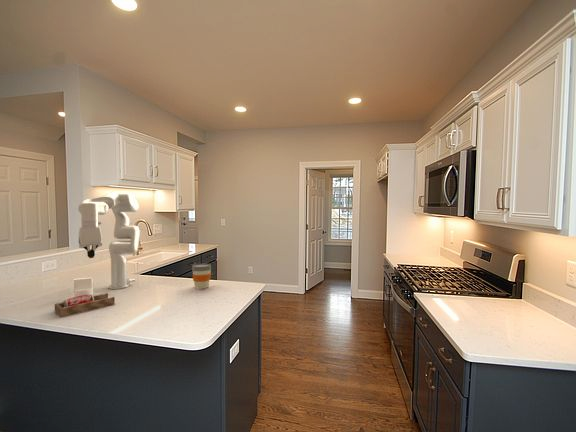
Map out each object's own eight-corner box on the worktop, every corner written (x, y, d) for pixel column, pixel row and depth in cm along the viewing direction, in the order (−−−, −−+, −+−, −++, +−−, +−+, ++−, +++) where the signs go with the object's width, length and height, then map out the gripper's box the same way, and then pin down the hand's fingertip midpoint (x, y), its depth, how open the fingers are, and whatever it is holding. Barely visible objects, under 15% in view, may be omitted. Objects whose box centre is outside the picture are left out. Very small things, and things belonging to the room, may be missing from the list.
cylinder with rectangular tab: (72, 301, 160) (72, 281, 160) (76, 297, 168) (75, 277, 168) (91, 299, 164) (91, 279, 164) (94, 295, 172) (93, 276, 172)
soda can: (96, 301, 150) (68, 308, 140) (92, 308, 153) (65, 315, 144) (92, 290, 153) (65, 296, 143) (89, 297, 156) (62, 304, 146)
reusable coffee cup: (188, 288, 187) (187, 266, 186) (200, 283, 198) (200, 262, 198) (203, 290, 182) (203, 267, 182) (215, 285, 194) (214, 264, 193)
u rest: (107, 299, 163) (107, 293, 163) (114, 304, 156) (114, 297, 156) (54, 311, 145) (54, 303, 145) (60, 317, 137) (60, 309, 137)
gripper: (103, 223, 161) (104, 254, 162) (71, 225, 150) (72, 258, 151) (107, 224, 157) (108, 256, 158) (75, 226, 145) (76, 260, 146)
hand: (91, 257), depth 154 cm, fingers closed
